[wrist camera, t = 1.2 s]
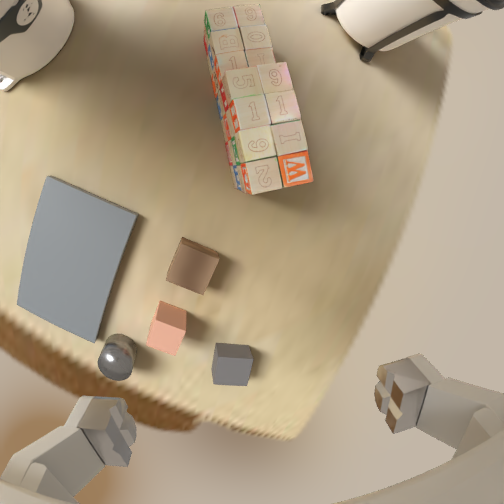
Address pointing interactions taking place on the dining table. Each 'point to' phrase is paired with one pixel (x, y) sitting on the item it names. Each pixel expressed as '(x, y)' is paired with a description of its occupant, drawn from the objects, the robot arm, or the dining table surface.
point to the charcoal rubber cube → (231, 364)
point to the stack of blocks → (255, 102)
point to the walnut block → (192, 266)
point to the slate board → (73, 257)
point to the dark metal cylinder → (117, 357)
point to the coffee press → (400, 19)
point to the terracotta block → (167, 328)
